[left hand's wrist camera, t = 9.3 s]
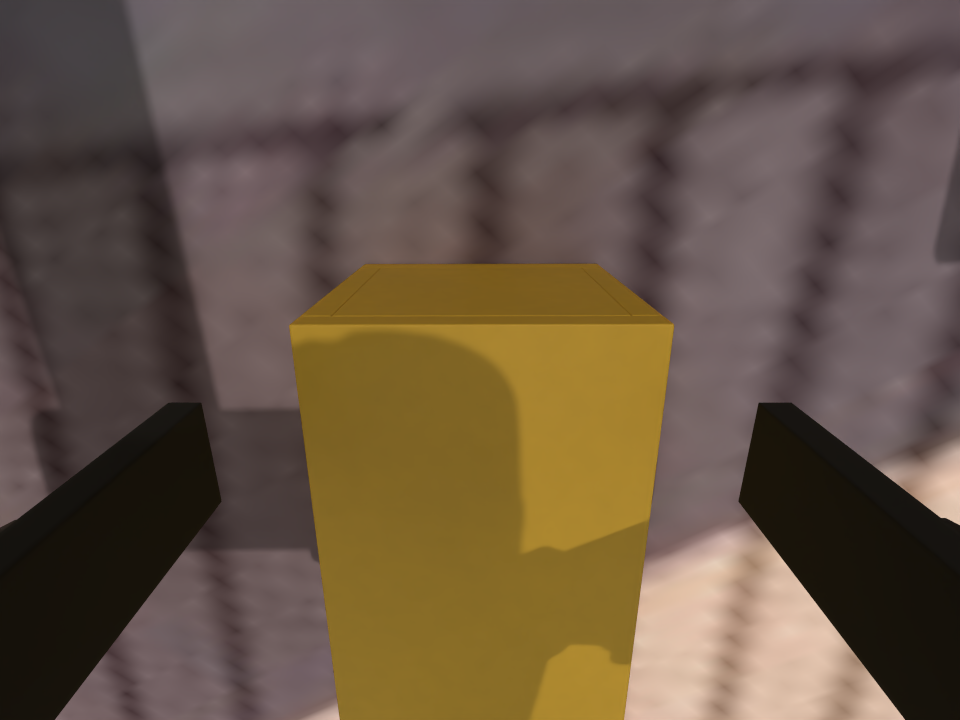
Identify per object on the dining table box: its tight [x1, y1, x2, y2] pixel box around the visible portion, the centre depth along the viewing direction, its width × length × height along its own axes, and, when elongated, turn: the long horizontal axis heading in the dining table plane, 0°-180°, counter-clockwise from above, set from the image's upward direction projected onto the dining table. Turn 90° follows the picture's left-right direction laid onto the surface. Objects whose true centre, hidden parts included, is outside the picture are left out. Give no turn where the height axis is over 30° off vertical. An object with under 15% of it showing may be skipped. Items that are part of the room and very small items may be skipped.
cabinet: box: [289, 264, 674, 720], centre depth 21 cm, size 17×10×10 cm, turn 0°
